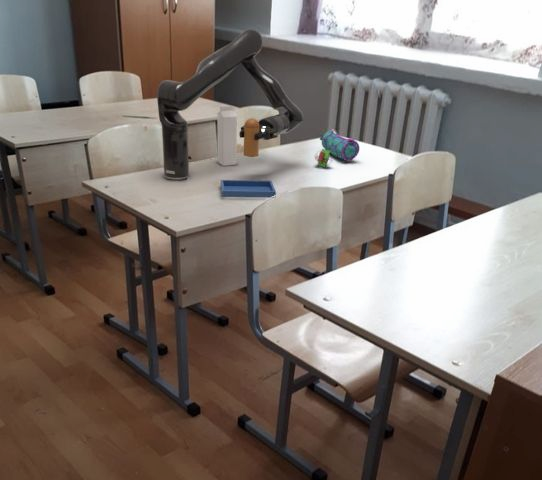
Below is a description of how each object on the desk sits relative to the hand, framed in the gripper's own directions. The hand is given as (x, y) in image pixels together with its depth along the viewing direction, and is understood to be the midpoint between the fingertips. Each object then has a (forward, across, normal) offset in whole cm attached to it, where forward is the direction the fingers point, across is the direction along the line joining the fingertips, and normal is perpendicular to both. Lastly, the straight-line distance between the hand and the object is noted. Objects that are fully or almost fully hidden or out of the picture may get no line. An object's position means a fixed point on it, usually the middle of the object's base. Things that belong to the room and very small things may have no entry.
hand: (247, 135), depth 211 cm
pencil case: (-61, -11, -18) cm, 64 cm away
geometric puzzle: (-42, -12, -18) cm, 47 cm away
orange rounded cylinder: (-3, 0, -7) cm, 8 cm away
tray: (+8, -5, -18) cm, 20 cm away
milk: (-20, +21, -18) cm, 34 cm away
